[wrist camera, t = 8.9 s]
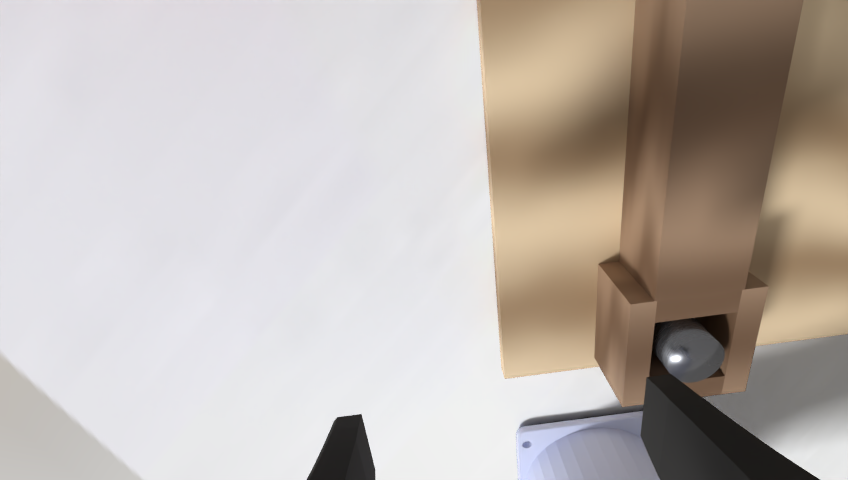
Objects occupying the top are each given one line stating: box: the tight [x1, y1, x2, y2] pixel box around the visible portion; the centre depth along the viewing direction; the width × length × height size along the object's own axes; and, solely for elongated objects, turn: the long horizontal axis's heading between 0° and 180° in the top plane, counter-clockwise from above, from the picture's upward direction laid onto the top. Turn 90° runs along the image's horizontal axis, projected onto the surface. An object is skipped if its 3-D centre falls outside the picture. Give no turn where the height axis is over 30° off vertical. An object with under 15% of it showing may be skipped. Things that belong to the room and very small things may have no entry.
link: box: [594, 0, 804, 407], centre depth 17 cm, size 19×5×3 cm, turn 7°
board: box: [477, 0, 848, 379], centre depth 19 cm, size 21×23×1 cm
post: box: [652, 318, 725, 383], centre depth 20 cm, size 2×2×4 cm
